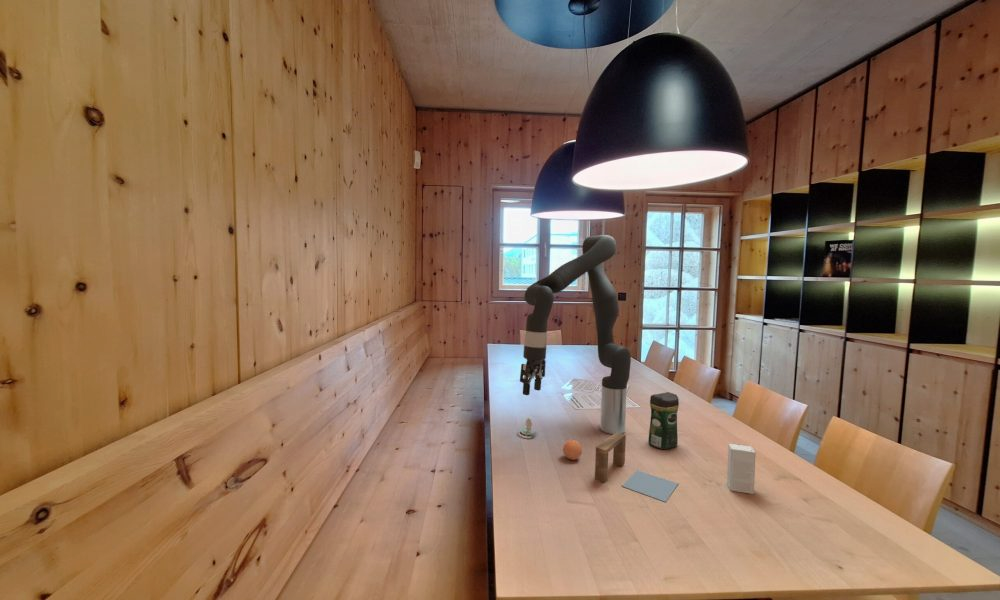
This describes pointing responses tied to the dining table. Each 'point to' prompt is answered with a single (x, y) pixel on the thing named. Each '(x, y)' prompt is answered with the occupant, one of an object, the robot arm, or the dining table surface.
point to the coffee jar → (663, 420)
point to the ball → (572, 449)
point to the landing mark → (650, 485)
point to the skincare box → (741, 468)
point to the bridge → (602, 455)
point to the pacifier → (528, 431)
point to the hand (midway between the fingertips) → (531, 392)
